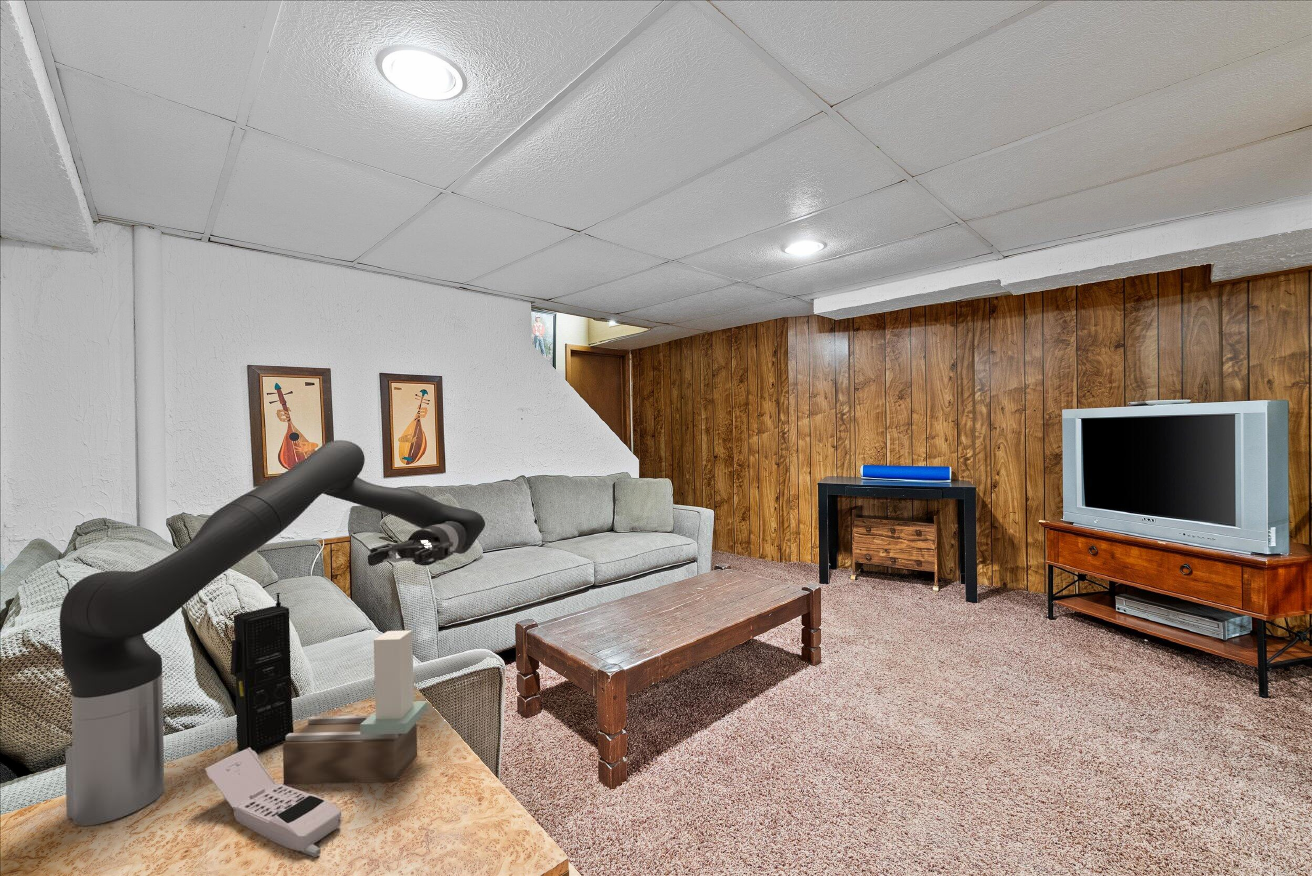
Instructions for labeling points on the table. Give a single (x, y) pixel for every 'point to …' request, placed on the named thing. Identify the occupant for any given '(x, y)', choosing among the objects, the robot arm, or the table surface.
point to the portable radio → (262, 677)
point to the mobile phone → (273, 804)
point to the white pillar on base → (394, 686)
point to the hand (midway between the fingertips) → (393, 559)
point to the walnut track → (345, 752)
